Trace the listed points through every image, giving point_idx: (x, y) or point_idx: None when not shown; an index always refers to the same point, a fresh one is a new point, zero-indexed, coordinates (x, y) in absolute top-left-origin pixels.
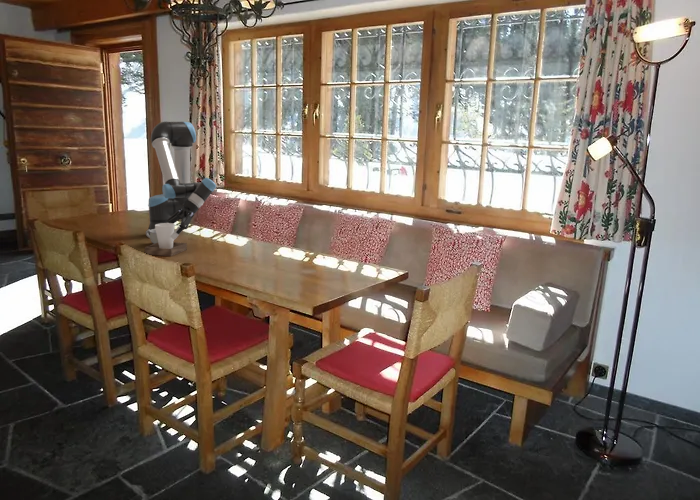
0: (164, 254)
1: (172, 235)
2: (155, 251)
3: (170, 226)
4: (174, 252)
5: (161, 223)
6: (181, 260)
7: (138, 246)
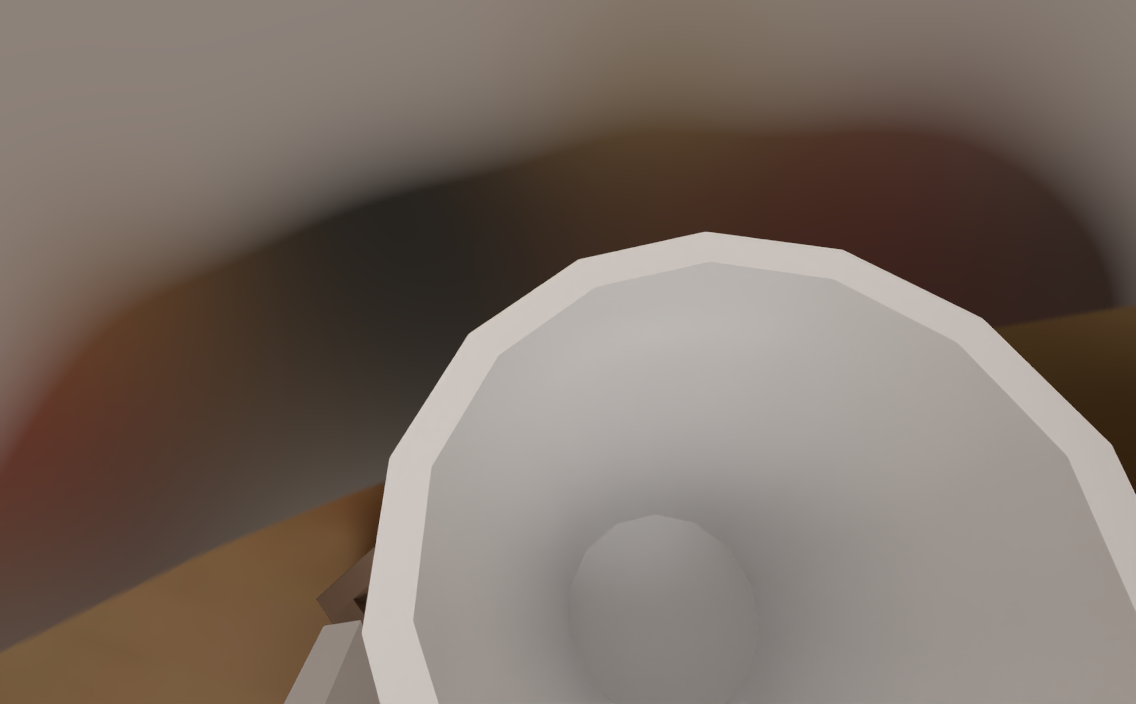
0: None
1: (303, 681)
2: None
3: (391, 698)
4: None
5: (1102, 483)
6: (52, 674)
7: (1119, 347)
